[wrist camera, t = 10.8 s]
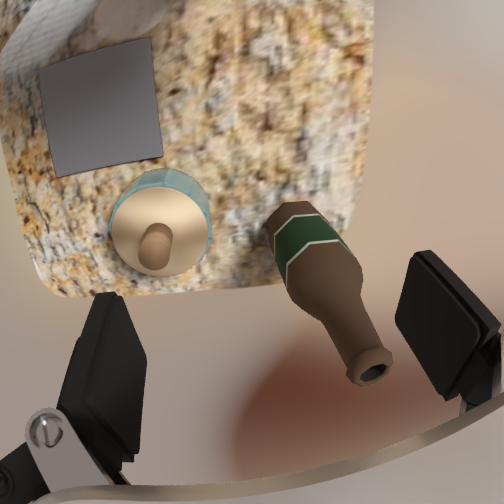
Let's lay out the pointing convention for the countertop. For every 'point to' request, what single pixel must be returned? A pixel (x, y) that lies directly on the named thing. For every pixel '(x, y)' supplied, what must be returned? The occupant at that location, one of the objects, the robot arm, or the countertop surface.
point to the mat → (101, 108)
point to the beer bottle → (328, 287)
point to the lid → (160, 231)
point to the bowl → (174, 181)
